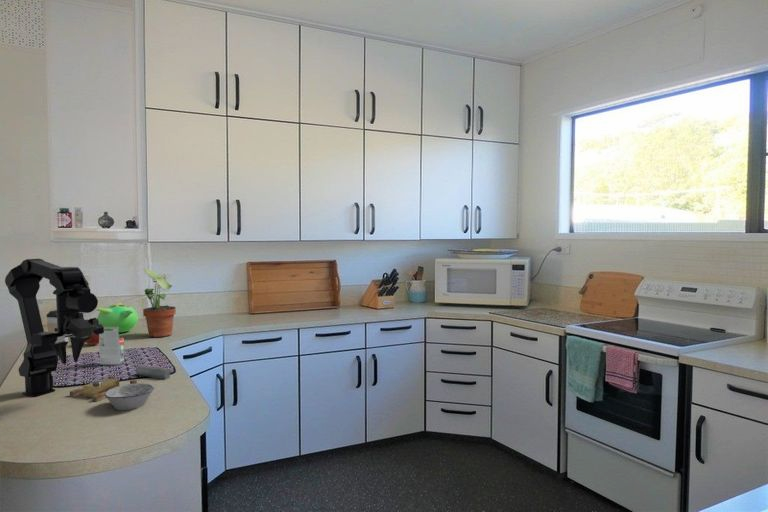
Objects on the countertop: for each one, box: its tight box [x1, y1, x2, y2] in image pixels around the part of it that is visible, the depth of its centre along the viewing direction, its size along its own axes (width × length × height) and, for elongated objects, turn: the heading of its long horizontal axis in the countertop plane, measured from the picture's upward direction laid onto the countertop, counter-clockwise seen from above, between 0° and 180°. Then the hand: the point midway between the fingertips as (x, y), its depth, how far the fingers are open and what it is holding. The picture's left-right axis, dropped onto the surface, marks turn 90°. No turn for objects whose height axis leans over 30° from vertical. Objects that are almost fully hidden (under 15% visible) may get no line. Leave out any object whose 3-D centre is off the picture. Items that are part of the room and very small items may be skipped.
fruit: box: [85, 334, 99, 346], centre depth 223 cm, size 8×8×10 cm
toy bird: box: [96, 302, 139, 334], centre depth 250 cm, size 18×17×15 cm
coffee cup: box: [46, 309, 69, 343], centre depth 228 cm, size 9×9×15 cm
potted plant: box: [142, 268, 176, 338], centre depth 241 cm, size 16×15×35 cm
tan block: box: [82, 378, 120, 398], centre depth 158 cm, size 8×6×4 cm
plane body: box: [69, 375, 138, 402], centre depth 159 cm, size 14×12×2 cm
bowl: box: [105, 382, 155, 411], centre depth 147 cm, size 13×13×5 cm
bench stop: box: [135, 364, 171, 380], centre depth 176 cm, size 2×14×3 cm, turn 65°
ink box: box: [98, 327, 125, 366], centre depth 192 cm, size 4×8×15 cm, turn 90°
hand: (70, 362), depth 149 cm, fingers open, 3 cm apart
